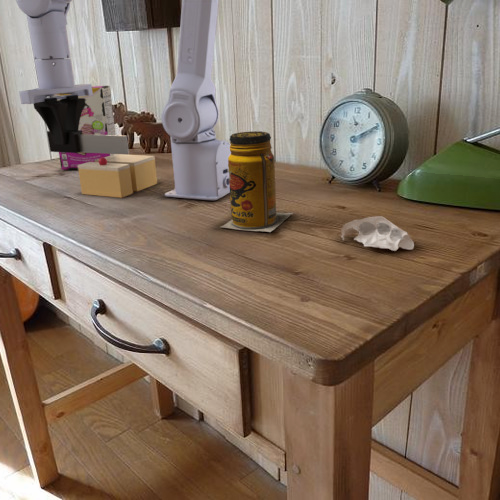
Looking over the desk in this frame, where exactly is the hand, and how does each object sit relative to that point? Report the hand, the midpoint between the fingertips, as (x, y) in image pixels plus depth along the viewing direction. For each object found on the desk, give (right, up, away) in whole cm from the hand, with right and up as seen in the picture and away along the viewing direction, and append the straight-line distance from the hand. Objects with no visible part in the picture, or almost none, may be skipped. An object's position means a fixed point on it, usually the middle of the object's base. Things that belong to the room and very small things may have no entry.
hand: (66, 143), depth 93 cm
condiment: (+33, -15, -19) cm, 41 cm away
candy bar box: (-2, -1, +21) cm, 21 cm away
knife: (+5, -2, -2) cm, 5 cm away
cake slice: (+7, -9, -1) cm, 11 cm away
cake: (+10, -7, +4) cm, 12 cm away
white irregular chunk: (+46, -18, -29) cm, 58 cm away
